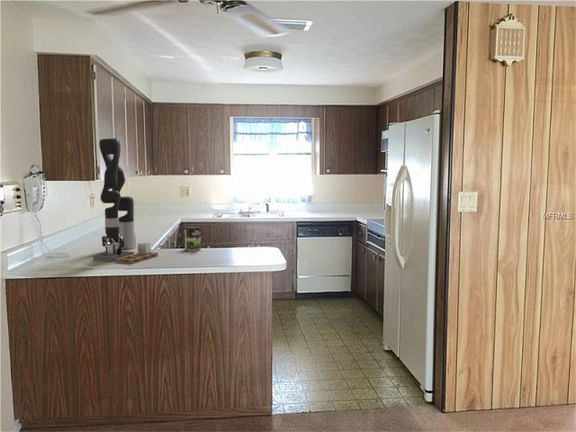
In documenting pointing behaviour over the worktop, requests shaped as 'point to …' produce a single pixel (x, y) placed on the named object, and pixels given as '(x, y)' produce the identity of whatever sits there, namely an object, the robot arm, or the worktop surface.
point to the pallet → (135, 258)
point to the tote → (105, 256)
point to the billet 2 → (144, 248)
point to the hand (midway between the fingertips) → (113, 254)
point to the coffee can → (192, 237)
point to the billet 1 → (112, 250)
